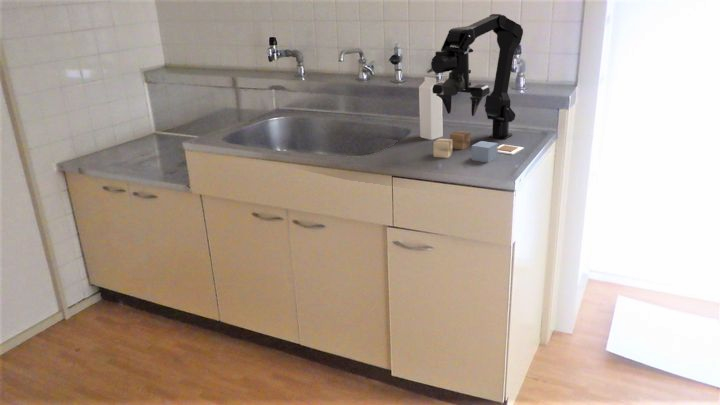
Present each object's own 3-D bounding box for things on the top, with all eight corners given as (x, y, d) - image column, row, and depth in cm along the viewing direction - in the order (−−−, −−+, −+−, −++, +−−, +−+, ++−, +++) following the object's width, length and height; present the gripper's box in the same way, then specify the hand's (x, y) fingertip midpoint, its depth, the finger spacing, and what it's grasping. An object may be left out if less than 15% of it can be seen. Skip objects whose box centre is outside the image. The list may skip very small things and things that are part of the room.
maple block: (438, 152, 205) (438, 138, 203) (452, 153, 203) (452, 139, 201) (433, 157, 201) (433, 142, 199) (448, 158, 199) (447, 143, 197)
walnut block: (457, 144, 213) (457, 130, 211) (470, 146, 210) (470, 132, 208) (450, 147, 209) (450, 134, 207) (462, 149, 206) (462, 135, 204)
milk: (431, 140, 220) (429, 79, 211) (419, 137, 224) (418, 78, 216) (443, 136, 223) (442, 77, 215) (431, 133, 227) (430, 75, 219)
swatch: (502, 145, 208) (502, 143, 207) (523, 148, 203) (524, 146, 202) (491, 151, 202) (491, 149, 202) (512, 154, 197) (513, 152, 197)
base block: (481, 155, 199) (481, 140, 197) (497, 158, 195) (497, 143, 194) (471, 160, 195) (471, 145, 193) (488, 163, 191) (488, 148, 189)
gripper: (422, 71, 196) (424, 118, 202) (473, 74, 185) (474, 123, 191) (440, 65, 204) (441, 110, 210) (490, 67, 193) (490, 114, 199)
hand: (461, 114), depth 202 cm, fingers open, 9 cm apart
